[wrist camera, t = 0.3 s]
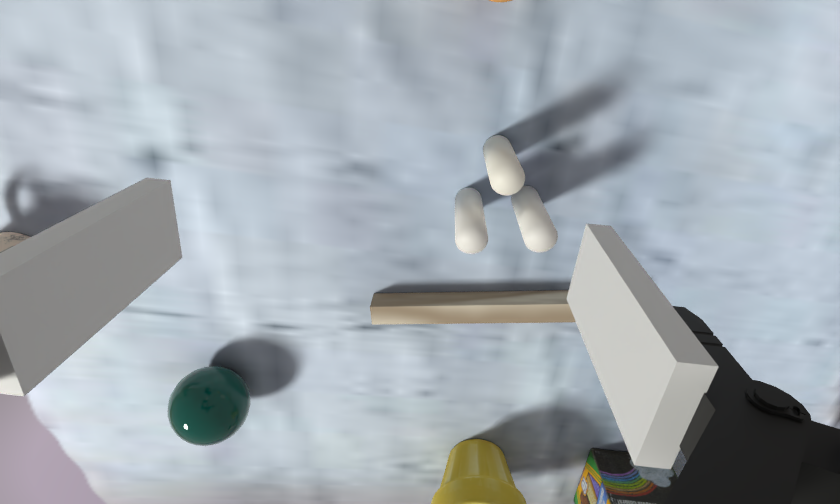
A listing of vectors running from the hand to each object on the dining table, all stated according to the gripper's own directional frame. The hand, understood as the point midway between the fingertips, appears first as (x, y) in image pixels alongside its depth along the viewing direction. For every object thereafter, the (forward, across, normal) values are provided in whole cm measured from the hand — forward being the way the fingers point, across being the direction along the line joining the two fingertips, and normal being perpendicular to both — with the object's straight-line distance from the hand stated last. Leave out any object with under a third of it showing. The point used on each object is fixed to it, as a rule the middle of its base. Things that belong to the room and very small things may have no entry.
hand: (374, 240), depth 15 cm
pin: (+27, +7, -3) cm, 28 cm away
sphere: (+27, -20, -32) cm, 46 cm away
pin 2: (+27, +10, -7) cm, 29 cm away
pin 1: (+27, +5, -8) cm, 28 cm away
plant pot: (+27, +10, -40) cm, 49 cm away
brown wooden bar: (+27, +9, -18) cm, 33 cm away
